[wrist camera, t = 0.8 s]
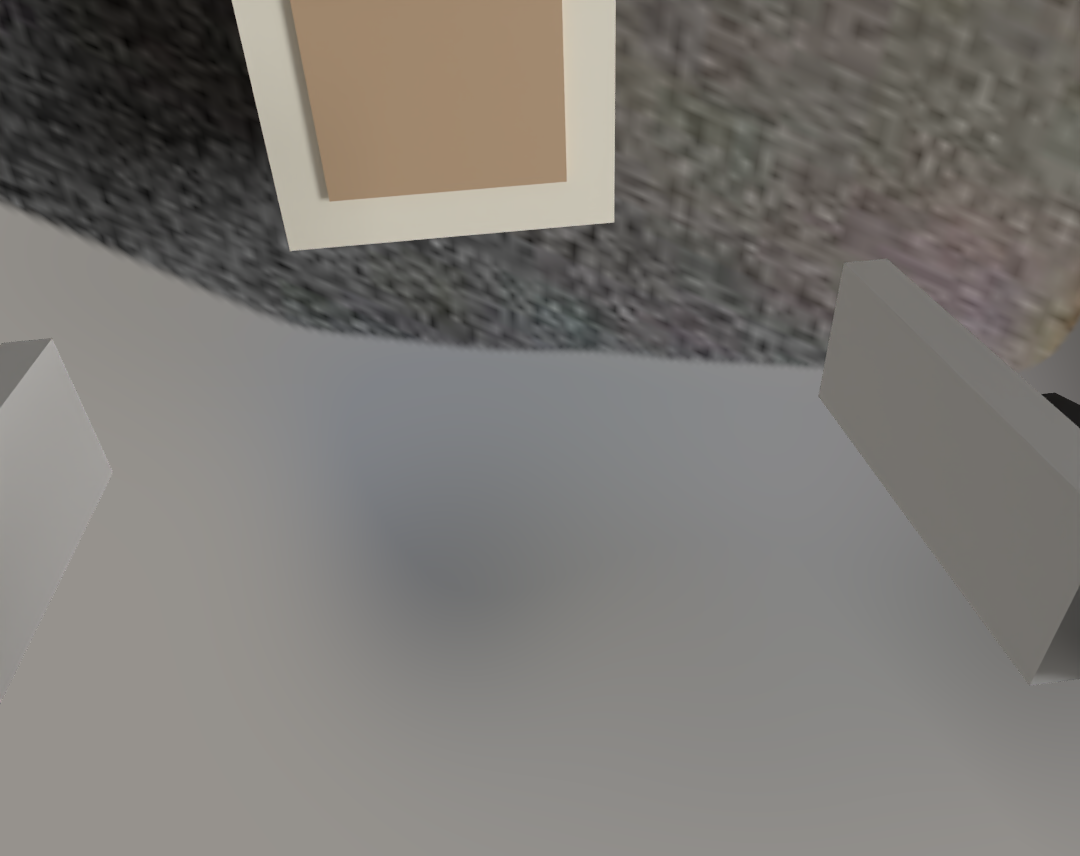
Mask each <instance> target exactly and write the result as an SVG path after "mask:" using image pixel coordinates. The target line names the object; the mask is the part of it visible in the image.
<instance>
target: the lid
mask: <svg viewBox="0 0 1080 856" xmlns="http://www.w3.org/2000/svg"><path fill="white" fill-rule="evenodd" d="M232 4H233V8H234V12H235V17H236V21H237V25H238V30H239V34H240V38H241V42H242V47H243V51H244V55H245V60H246V64H247V68H248V72H249V77H250V81H251V85H252V90H253V94H254V98H255V103H256V107H257V111H258V115H259V120H260V124H261V128H262V133H263V137H264V141H265V145H266V150H267V154H268V158H269V163H270V167H271V171H272V175H273V180H274V184H275V188H276V193H277V197H278V201H279V205H280V210H281V214H282V218H283V223H284V227H285V231H286V235H287V240H288V244H289V248H290V251H295V250H307V249H318V248H329V247H340V246H352V245H363V244H374V243H386V242H397V241H408V240H420V239H431V238H442V237H454V236H465V235H476V234H487V233H499V232H510V231H521V230H533V229H544V228H555V227H567V226H578V225H589V224H601V223H612V222H614V163H615V12H616V0H232Z"/></svg>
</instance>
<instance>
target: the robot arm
mask: <svg viewBox="0 0 1080 856" xmlns="http://www.w3.org/2000/svg"><path fill="white" fill-rule="evenodd" d="M819 398H820V399H821V400H822V402H823V403H824V405H825V406H826V407H827V409H828V410H829V411H830V413H831V414H832V415H833V417H834V418H835V420H836V421H837V422H838V424H839V425H840V426H841V428H842V429H843V430H844V432H845V433H846V435H847V436H848V437H849V439H850V440H851V442H852V443H853V444H854V446H855V447H856V448H857V450H858V451H859V453H860V454H861V455H862V457H863V458H864V459H865V461H866V462H867V463H868V465H869V466H870V468H871V469H872V470H873V472H874V473H875V474H876V476H877V477H878V479H879V480H880V481H881V483H882V484H883V485H884V487H885V488H886V490H887V491H888V492H889V494H890V495H891V496H892V498H893V499H894V501H895V502H896V503H897V505H898V506H899V507H900V509H901V510H902V512H903V513H904V514H905V516H906V517H907V518H908V520H909V521H910V522H911V524H912V525H913V527H914V528H915V529H916V531H917V532H918V533H919V535H920V536H921V538H922V539H923V540H924V542H925V543H926V544H927V546H928V547H929V549H930V550H931V551H932V553H933V554H934V555H935V557H936V558H937V559H938V561H939V562H940V564H941V565H942V566H943V568H944V569H945V571H946V572H947V573H948V575H949V576H950V577H951V579H952V580H953V581H954V583H955V584H956V586H957V587H958V588H959V590H960V591H961V592H962V594H963V595H964V597H965V598H966V599H967V601H968V602H969V603H970V605H971V606H972V608H973V609H974V610H975V612H976V613H977V614H978V616H979V617H980V618H981V620H982V621H983V623H984V624H985V625H986V627H987V628H988V630H989V631H990V632H991V634H992V635H993V636H994V638H995V639H996V641H997V642H998V643H999V645H1000V646H1001V647H1002V649H1003V650H1004V651H1005V653H1006V654H1007V656H1008V657H1009V658H1010V660H1011V661H1012V662H1013V664H1014V665H1015V666H1016V668H1017V669H1018V671H1019V672H1020V673H1021V675H1022V676H1023V678H1024V679H1025V680H1026V682H1027V683H1028V684H1029V686H1031V685H1039V684H1046V683H1053V682H1061V681H1068V680H1075V679H1080V405H1078V404H1077V403H1075V402H1072V401H1071V400H1069V399H1066V398H1065V397H1062V396H1060V395H1058V394H1056V393H1048V394H1040V393H1039V392H1038V391H1037V390H1036V389H1034V388H1033V387H1032V386H1031V385H1030V384H1029V383H1028V382H1026V381H1025V380H1024V379H1023V378H1022V377H1020V375H1019V374H1017V373H1016V372H1015V371H1014V370H1013V369H1012V368H1011V367H1009V366H1008V365H1007V364H1006V363H1005V362H1004V361H1003V360H1001V359H1000V358H999V357H998V356H997V355H996V354H995V353H993V352H992V351H991V350H990V349H989V348H988V347H987V346H986V345H984V344H983V343H982V342H981V341H980V340H979V339H978V338H976V337H975V336H974V335H973V334H972V333H971V332H970V331H968V330H967V329H966V328H965V327H964V326H963V325H962V324H960V323H959V322H958V321H957V320H956V319H955V318H954V317H953V316H951V315H950V314H949V313H948V312H947V311H946V310H945V309H943V308H942V307H941V306H940V305H939V304H938V303H937V302H935V301H934V300H933V299H932V298H931V297H930V296H929V295H927V294H926V293H925V292H924V291H923V290H922V289H921V288H920V287H918V286H917V285H916V284H915V283H914V282H913V281H912V280H910V279H909V278H908V277H907V276H906V275H905V274H904V273H902V272H901V271H900V270H899V269H898V268H897V267H896V266H894V265H893V264H892V263H891V262H890V261H889V260H888V259H879V260H868V261H858V262H847V263H844V265H843V271H842V276H841V281H840V286H839V292H838V297H837V302H836V307H835V313H834V318H833V323H832V328H831V334H830V339H829V344H828V349H827V355H826V360H825V365H824V370H823V376H822V381H821V386H820V392H819ZM112 473H113V471H112V469H111V467H110V464H109V462H108V460H107V458H106V456H105V453H104V451H103V449H102V447H101V444H100V442H99V440H98V438H97V436H96V433H95V431H94V429H93V427H92V425H91V423H90V420H89V418H88V416H87V414H86V412H85V409H84V407H83V405H82V403H81V401H80V398H79V396H78V394H77V392H76V390H75V387H74V385H73V383H72V381H71V379H70V376H69V374H68V372H67V370H66V368H65V365H64V363H63V361H62V359H61V357H60V354H59V352H58V350H57V348H56V346H55V343H54V341H53V339H52V338H51V339H39V340H29V341H18V342H9V343H2V344H1V345H0V703H1V701H2V699H3V697H4V695H5V693H6V691H7V689H8V687H9V685H10V683H11V681H12V679H13V677H14V675H15V673H16V670H17V668H18V666H19V664H20V662H21V660H22V658H23V656H24V654H25V652H26V650H27V648H28V646H29V644H30V641H31V640H32V638H33V636H34V634H35V632H36V629H37V627H38V625H39V623H40V621H41V619H42V617H43V615H44V613H45V611H46V609H47V607H48V605H49V603H50V601H51V599H52V596H53V594H54V592H55V590H56V588H57V586H58V584H59V582H60V580H61V578H62V576H63V574H64V572H65V570H66V568H67V566H68V564H69V562H70V560H71V558H72V556H73V554H74V551H75V549H76V547H77V545H78V543H79V541H80V539H81V537H82V535H83V533H84V531H85V529H86V527H87V525H88V523H89V521H90V519H91V517H92V514H93V512H94V510H95V508H96V506H97V504H98V502H99V500H100V498H101V496H102V494H103V492H104V490H105V488H106V486H107V484H108V482H109V479H110V477H111V475H112Z"/></svg>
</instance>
